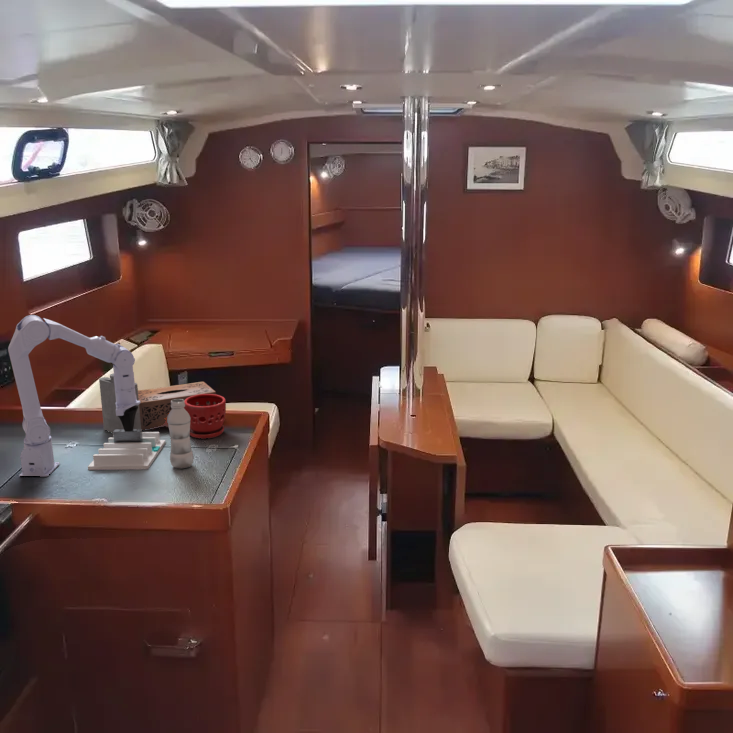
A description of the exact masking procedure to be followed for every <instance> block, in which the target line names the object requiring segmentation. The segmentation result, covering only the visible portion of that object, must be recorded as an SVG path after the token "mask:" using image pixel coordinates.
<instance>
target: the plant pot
mask: <svg viewBox="0 0 733 733" xmlns="http://www.w3.org/2000/svg"><path fill="white" fill-rule="evenodd" d="M207 401H209V402H210V405H207V404H206V402H207ZM197 402H198V405H196V403H197ZM214 402H215V403H216V404H214ZM184 403H185V407H184V409H185V410H186V411H187V412H188V413H189V415H190V436H191V437H192V438H195V439H200V438H201V439H202V440H205V439H206V438H208V439H213V438H216V437H219V436H220V435H222V434H223V433H224V430H225V426H224V425H223V424H224V422H225V420H226V414H227V413H226V410H227V403H226V398H225V397H224V396H222V395H220V394H217V393H216V394H199V395H194V396H190V397H188V398H186V399H185V401H184ZM206 440H207V439H206Z"/></svg>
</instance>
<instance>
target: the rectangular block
mask: <svg viewBox="0 0 733 733" xmlns="http://www.w3.org/2000/svg"><path fill="white" fill-rule="evenodd" d="M142 432H143V431H142V429H133V430H132V431H125V430H124V429H116V430H114V431H113V434H112V437H114V443H143V439H142Z"/></svg>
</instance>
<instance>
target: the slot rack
mask: <svg viewBox="0 0 733 733" xmlns="http://www.w3.org/2000/svg"><path fill="white" fill-rule="evenodd" d="M160 437H161V436H160V432H159V431H142V439H143V443H114V437H113V436H112V437H108V438H107V440H108V441H107V442H104V443H103V448H98V449H97V450H98V454H97V453H95V454H93V455H92V459H93V460H92V461H91V462H90V463H89V465H88V466H87V470H88V471H97V470H98V471H100V470H101V471H102V470H103V471H104V470H105V471H106V470H108V471H109V470H117V471H118V470H149V468H150V467H151V465H152V464H153V462H154V461H155V460H156V458H157V456H158V454H160V452H161V451H162V449H163V448H164V446H165V444H166V439H161V438H160Z"/></svg>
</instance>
